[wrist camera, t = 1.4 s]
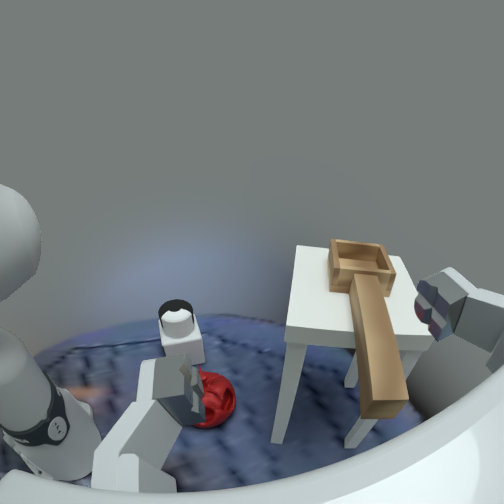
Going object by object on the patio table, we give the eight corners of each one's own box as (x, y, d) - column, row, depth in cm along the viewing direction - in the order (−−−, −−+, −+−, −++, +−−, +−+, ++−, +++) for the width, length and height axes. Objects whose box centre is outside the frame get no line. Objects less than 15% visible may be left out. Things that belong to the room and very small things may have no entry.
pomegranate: (167, 398, 42) (155, 366, 37) (217, 377, 47) (213, 343, 42) (193, 443, 35) (183, 417, 30) (248, 417, 40) (248, 386, 35)
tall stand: (268, 444, 35) (286, 325, 23) (281, 372, 48) (296, 245, 36) (357, 449, 33) (435, 335, 20) (354, 379, 46) (399, 256, 33)
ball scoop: (330, 418, 15) (342, 395, 13) (327, 260, 32) (330, 238, 31) (419, 416, 14) (438, 393, 12) (378, 265, 31) (383, 244, 30)
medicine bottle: (164, 344, 53) (153, 298, 48) (198, 338, 56) (191, 291, 50) (169, 370, 47) (156, 324, 42) (206, 363, 50) (199, 316, 44)
